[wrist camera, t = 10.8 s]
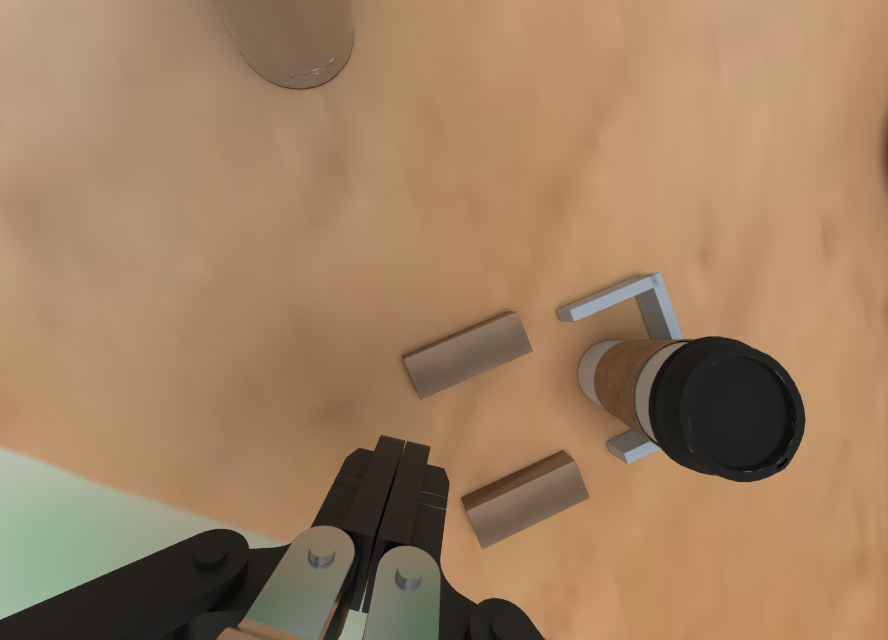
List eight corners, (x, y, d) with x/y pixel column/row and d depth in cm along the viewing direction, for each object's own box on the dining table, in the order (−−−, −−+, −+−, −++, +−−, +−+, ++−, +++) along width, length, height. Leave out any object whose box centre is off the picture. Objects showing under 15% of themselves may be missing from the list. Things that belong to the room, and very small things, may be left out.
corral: (555, 309, 37) (570, 310, 34) (638, 274, 38) (660, 272, 35) (609, 452, 38) (628, 464, 36) (689, 414, 39) (713, 423, 36)
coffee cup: (600, 438, 38) (735, 521, 23) (545, 366, 37) (648, 406, 23) (668, 378, 39) (840, 423, 24) (615, 307, 38) (759, 308, 23)
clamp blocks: (402, 355, 36) (403, 359, 33) (508, 311, 37) (517, 311, 34) (476, 533, 37) (482, 549, 35) (576, 485, 38) (589, 497, 36)
